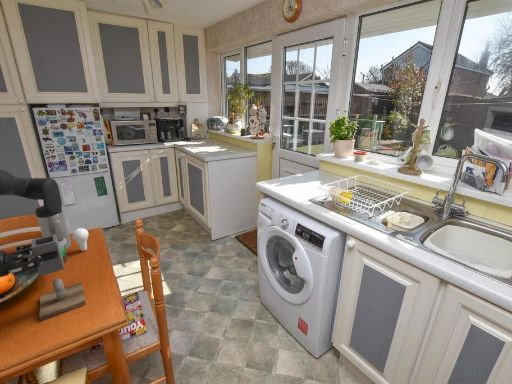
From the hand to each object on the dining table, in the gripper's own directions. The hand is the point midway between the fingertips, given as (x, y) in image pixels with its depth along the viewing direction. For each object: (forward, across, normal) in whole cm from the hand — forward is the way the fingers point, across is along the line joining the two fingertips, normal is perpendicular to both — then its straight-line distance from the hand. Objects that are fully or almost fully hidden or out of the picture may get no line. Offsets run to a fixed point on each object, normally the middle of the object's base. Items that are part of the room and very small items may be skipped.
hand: (56, 249), depth 85 cm
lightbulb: (+7, +33, +20) cm, 39 cm away
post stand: (-2, 0, +20) cm, 20 cm away
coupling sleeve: (-2, 0, +6) cm, 6 cm away
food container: (-4, +27, +20) cm, 34 cm away
